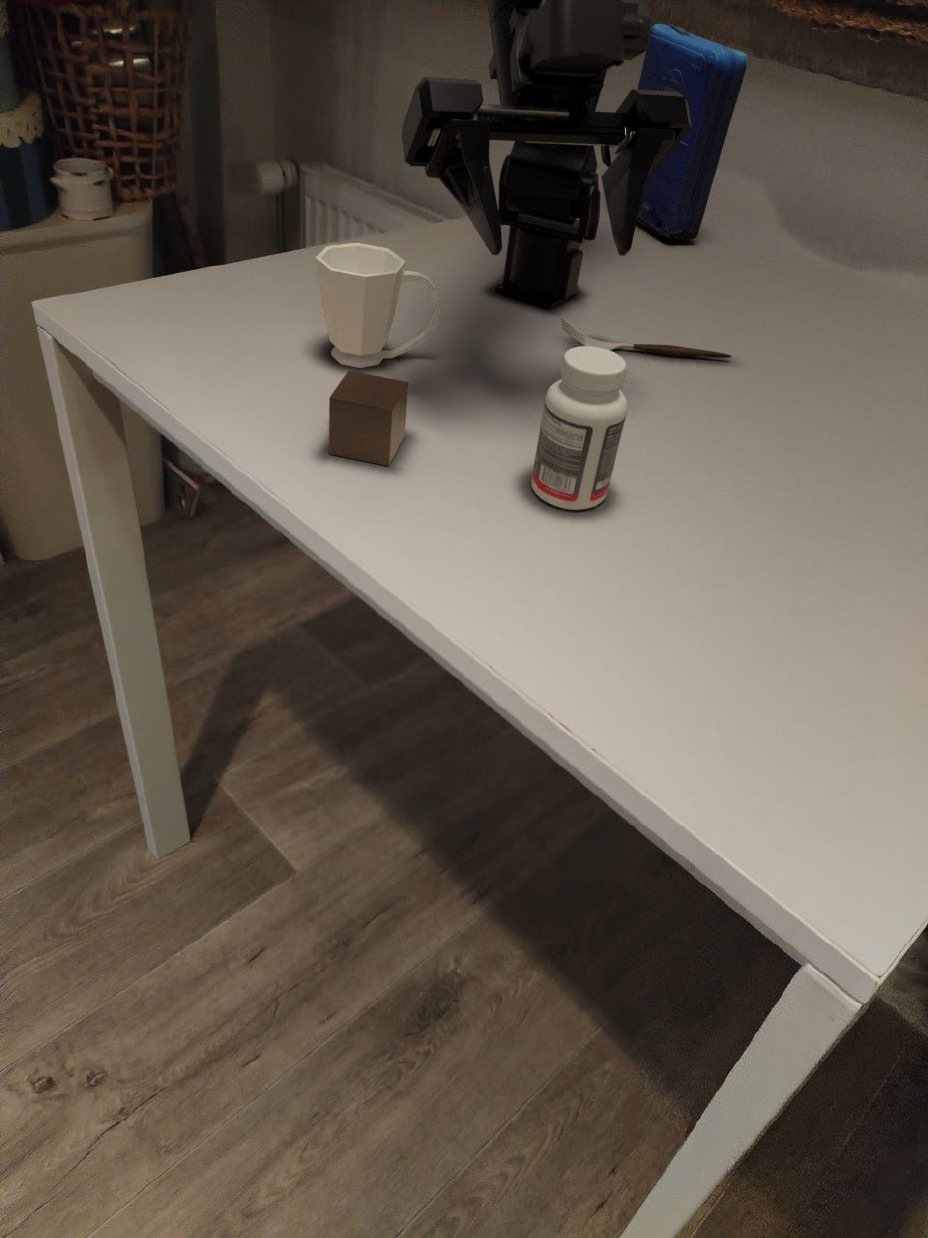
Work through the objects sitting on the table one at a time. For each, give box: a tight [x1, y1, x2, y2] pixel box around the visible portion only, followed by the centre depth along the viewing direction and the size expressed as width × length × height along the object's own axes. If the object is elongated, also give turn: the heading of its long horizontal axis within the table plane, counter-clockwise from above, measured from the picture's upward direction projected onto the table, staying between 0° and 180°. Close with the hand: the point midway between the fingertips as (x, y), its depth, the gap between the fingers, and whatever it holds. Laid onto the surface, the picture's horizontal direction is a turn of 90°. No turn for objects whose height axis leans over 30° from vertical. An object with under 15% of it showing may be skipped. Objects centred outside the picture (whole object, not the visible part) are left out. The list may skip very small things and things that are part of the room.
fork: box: [560, 316, 732, 359], centre depth 82 cm, size 3×16×2 cm, turn 89°
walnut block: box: [328, 369, 409, 467], centre depth 63 cm, size 4×4×4 cm
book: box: [636, 23, 749, 240], centre depth 104 cm, size 14×5×20 cm, turn 23°
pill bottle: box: [531, 345, 629, 511], centre depth 60 cm, size 5×5×10 cm
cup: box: [315, 242, 440, 369], centre depth 73 cm, size 7×10×8 cm
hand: (562, 252), depth 60 cm, fingers open, 9 cm apart
